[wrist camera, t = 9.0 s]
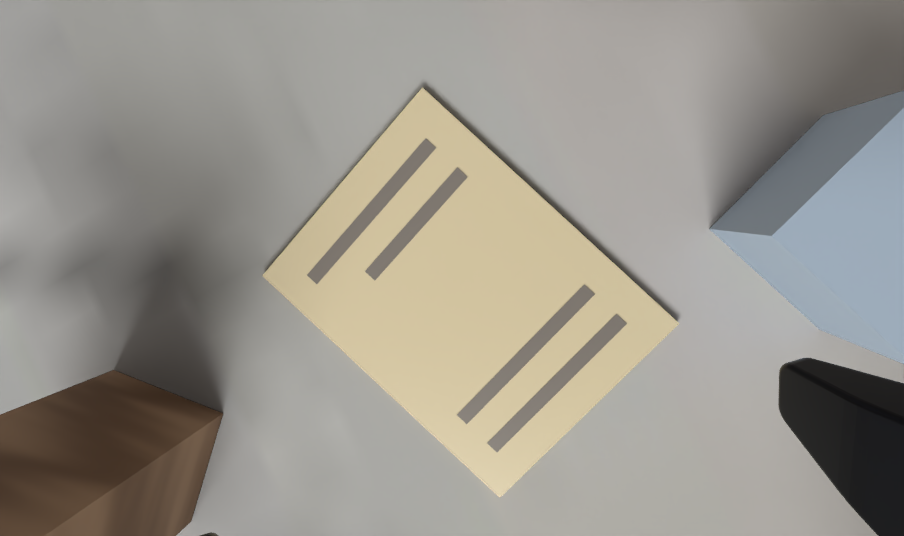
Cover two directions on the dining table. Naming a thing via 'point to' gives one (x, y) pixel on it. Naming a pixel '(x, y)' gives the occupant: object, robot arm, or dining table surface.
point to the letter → (467, 295)
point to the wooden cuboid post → (104, 460)
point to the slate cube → (834, 225)
